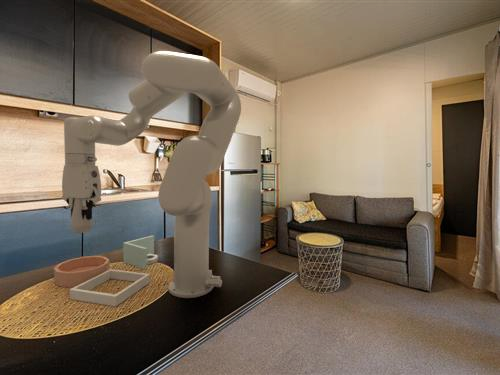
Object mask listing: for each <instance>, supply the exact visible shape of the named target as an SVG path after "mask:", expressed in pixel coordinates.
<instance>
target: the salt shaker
mask: <svg viewBox="0 0 500 375" xmlns="http://www.w3.org/2000/svg"><path fill="white" fill-rule="evenodd" d="M88 202H89V200H88V201H87V203H88ZM82 209H83V204H82V199H75V202H74V207H73V212H72V216H71V215H70V221H69V225H70V226H69V227H70V228H71V230H72V232H73V234H82V233H84V234H85V233H88V232H90V231H91V230H92V227H93V225H94V221H93V217H92V218H91V219H90V220H87V219H86V215H85V216H84V219H83V218H82V214H81V210H82Z"/></svg>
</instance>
